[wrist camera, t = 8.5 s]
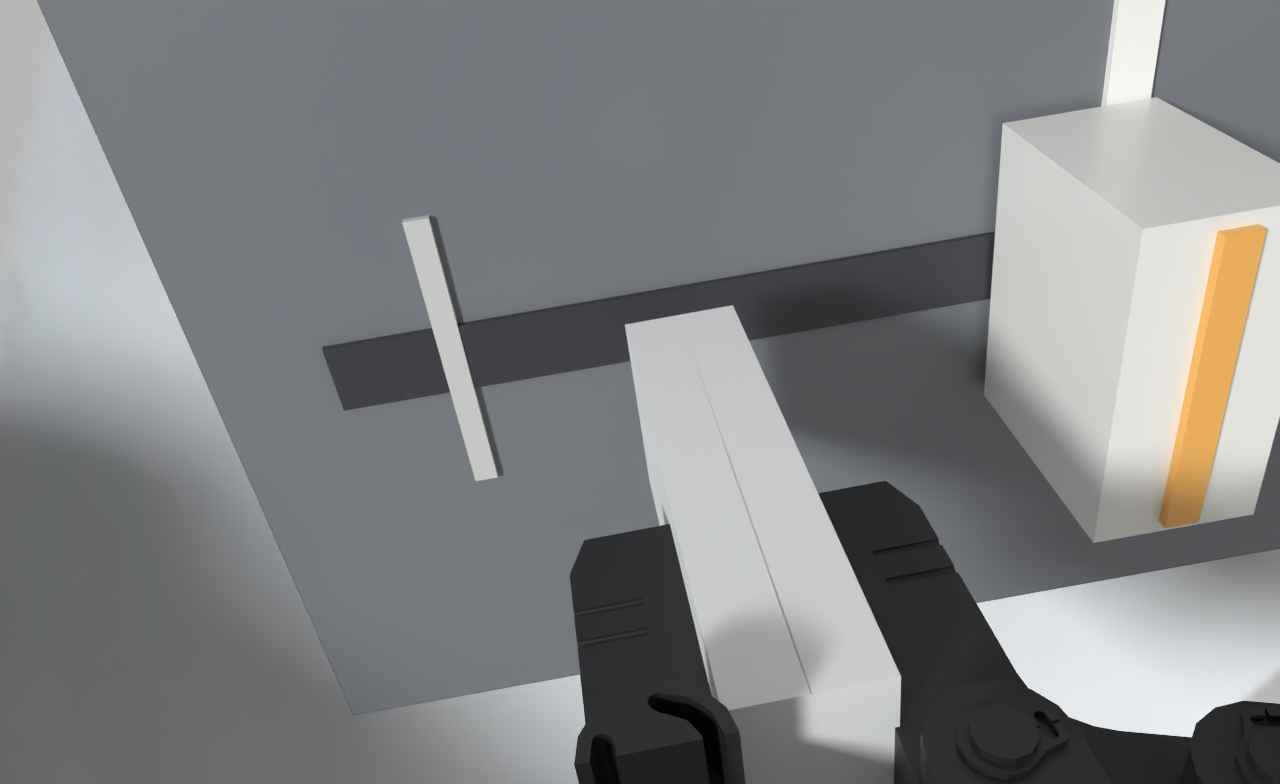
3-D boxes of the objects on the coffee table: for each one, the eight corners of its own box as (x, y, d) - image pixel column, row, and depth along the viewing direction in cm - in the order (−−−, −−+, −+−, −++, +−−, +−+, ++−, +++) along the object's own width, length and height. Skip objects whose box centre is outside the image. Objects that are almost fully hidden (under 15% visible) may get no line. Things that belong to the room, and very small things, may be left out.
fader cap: (984, 394, 18) (1098, 549, 14) (1002, 122, 15) (1149, 234, 12) (1114, 371, 18) (1260, 521, 15) (1156, 97, 15) (1348, 199, 12)
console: (364, 643, 23) (352, 720, 21) (36, -162, 14) (-34, -148, 12) (1315, 473, 23) (1383, 534, 21) (1583, -407, 14) (1738, -429, 12)
